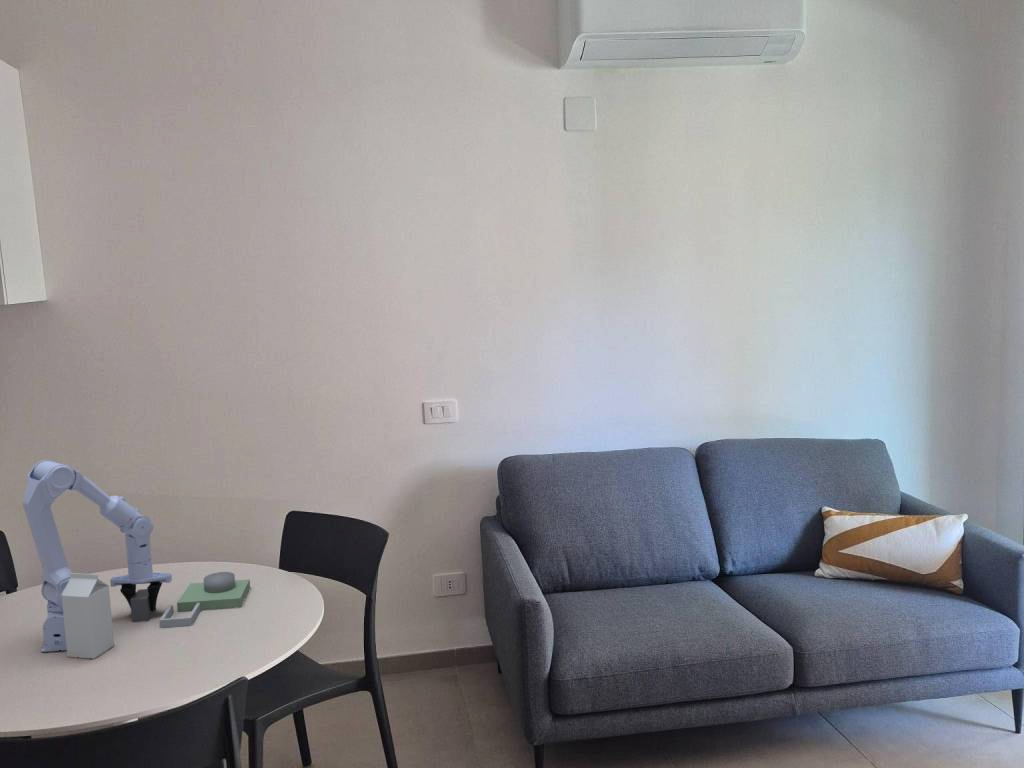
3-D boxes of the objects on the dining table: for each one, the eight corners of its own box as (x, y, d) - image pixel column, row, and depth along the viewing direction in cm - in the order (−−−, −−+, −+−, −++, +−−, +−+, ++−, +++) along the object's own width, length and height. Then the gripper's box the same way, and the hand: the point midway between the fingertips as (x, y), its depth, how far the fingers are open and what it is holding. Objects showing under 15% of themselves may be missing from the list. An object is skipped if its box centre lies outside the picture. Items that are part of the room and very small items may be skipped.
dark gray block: (148, 621, 216) (146, 598, 215) (132, 622, 215) (130, 599, 214) (156, 610, 222) (154, 588, 222) (140, 611, 222) (138, 589, 221)
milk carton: (94, 659, 194) (86, 580, 192) (67, 657, 196) (59, 578, 193) (114, 646, 201) (107, 569, 199) (88, 644, 203) (81, 567, 200)
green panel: (233, 622, 213) (231, 601, 212) (159, 627, 211) (158, 606, 210) (250, 587, 237) (248, 569, 236) (184, 592, 234) (182, 573, 234)
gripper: (173, 552, 222) (177, 602, 223) (115, 556, 220) (119, 606, 222) (165, 561, 215) (170, 613, 216) (105, 565, 213) (110, 617, 215)
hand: (143, 610), depth 219 cm, fingers closed on dark gray block, 4 cm apart
